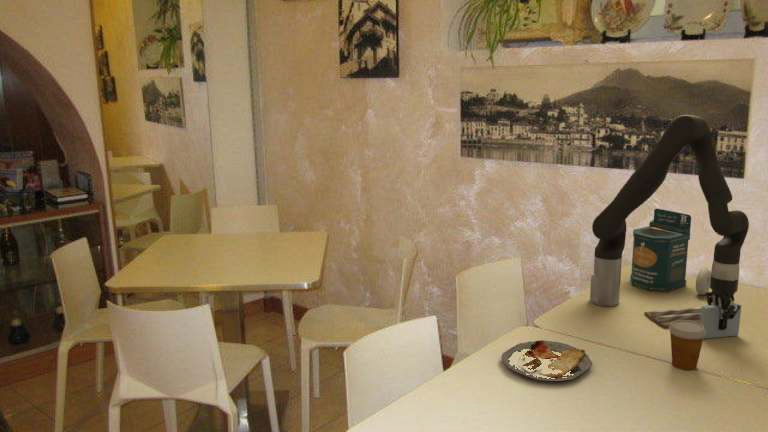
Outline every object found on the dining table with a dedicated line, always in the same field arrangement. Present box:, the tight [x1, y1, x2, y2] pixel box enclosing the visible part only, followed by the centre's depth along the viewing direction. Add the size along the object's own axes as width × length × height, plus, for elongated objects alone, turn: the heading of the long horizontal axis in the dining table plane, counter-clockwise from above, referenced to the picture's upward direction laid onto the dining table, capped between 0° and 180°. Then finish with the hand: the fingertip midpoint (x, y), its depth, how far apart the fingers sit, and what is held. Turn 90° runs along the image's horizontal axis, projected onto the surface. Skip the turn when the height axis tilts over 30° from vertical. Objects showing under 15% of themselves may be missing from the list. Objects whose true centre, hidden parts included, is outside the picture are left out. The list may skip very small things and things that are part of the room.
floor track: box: [643, 306, 702, 329], centre depth 213 cm, size 26×12×2 cm, turn 98°
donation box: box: [629, 208, 692, 293], centre depth 244 cm, size 16×16×28 cm
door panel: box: [700, 302, 742, 340], centre depth 198 cm, size 12×2×10 cm, turn 98°
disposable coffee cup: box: [668, 320, 706, 371], centre depth 180 cm, size 10×10×12 cm
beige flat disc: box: [695, 268, 711, 296], centre depth 234 cm, size 10×4×10 cm, turn 137°
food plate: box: [500, 339, 593, 382], centre depth 183 cm, size 25×23×4 cm
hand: (719, 327), depth 199 cm, fingers closed on door panel, 2 cm apart
